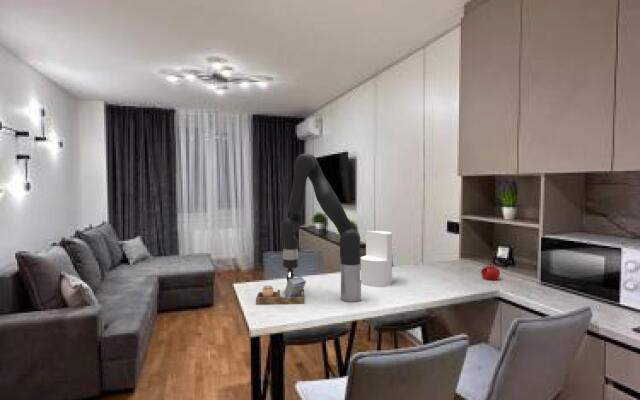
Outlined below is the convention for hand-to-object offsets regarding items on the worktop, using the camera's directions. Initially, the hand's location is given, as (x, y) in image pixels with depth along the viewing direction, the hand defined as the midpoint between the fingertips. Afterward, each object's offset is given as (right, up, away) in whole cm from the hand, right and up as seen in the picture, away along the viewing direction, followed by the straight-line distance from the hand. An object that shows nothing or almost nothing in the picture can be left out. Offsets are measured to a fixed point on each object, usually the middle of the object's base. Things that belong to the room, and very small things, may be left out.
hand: (290, 291), depth 189 cm
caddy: (-3, -2, -11) cm, 12 cm away
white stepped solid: (+46, 0, +22) cm, 51 cm away
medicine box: (+1, -1, -3) cm, 3 cm away
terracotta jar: (-9, -1, -13) cm, 16 cm away
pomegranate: (+113, 0, +28) cm, 117 cm away
